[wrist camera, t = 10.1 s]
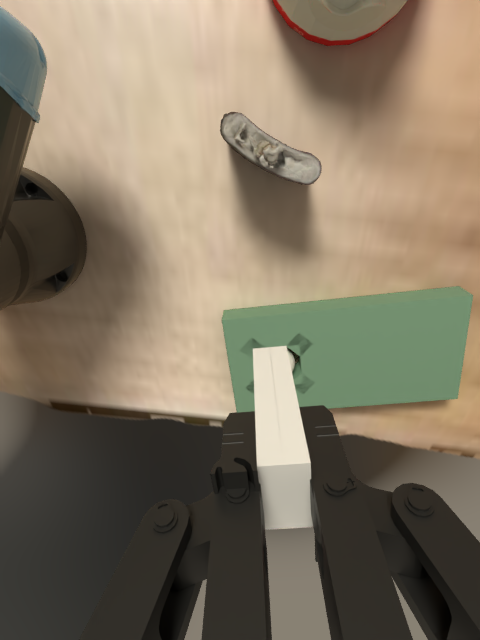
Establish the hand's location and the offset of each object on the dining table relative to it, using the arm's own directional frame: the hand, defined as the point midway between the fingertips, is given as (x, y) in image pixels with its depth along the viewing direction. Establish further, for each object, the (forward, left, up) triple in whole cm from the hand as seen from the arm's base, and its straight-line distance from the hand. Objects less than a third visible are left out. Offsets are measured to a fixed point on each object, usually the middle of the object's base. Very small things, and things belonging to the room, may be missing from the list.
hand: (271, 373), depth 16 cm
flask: (+1, +9, -27) cm, 29 cm away
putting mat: (+8, -15, -27) cm, 32 cm away
